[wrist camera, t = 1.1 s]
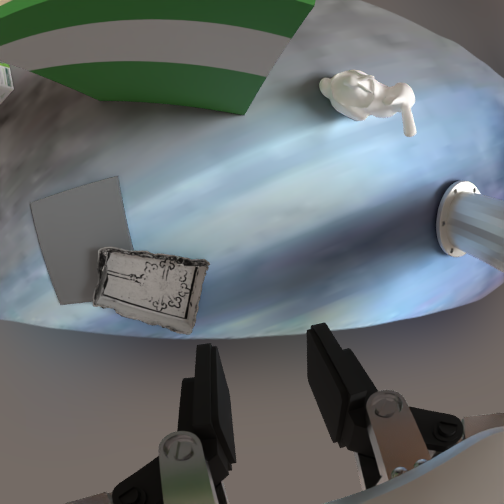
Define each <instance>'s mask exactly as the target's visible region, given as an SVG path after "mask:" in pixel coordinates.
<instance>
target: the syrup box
mask: <svg viewBox="0 0 504 504" xmlns="http://www.w3.org/2000/svg"><path fill="white" fill-rule="evenodd" d="M13 90H14V87H13V83H12V77H11V72H10V67H9V64H5V63H2V62H0V104H1V103H2V102H3V101H4V100H5V99H6V98H7V97H8V96H9V94H10V93H11V92H12V91H13Z"/></svg>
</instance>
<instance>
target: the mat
mask: <svg viewBox="0 0 504 504" xmlns="http://www.w3.org/2000/svg"><path fill="white" fill-rule="evenodd" d="M30 204H31V209H32V214H33V219H34V223H35V227H36V231H37V235H38V239H39V243H40V246H41V250H42V253H43V256H44V260H45V263H46V266H47V269H48V272H49V275H50V278H51V281H52V284H53V286H54V289H55V292H56V295H57V297H58V300H59V302H60V305H66V304H74V303H83V302H91V301H93V295H94V290H95V288H96V285H97V284H98V281H99V278H98V270H97V260H98V251H99V250H100V249H101V248H104V247H116V248H119V249H121V248H122V249H124V250H129V251H134V250H133V246H132V242H131V238H130V234H129V229H128V225H127V220H126V216H125V211H124V206H123V201H122V196H121V190H120V185H119V179H118V176H115V177H111V178H108V179H104V180H100V181H97V182H93V183H90V184H86V185H83V186H80V187H76V188H73V189H70V190H67V191H64V192H61V193H58V194H55V195H52V196H49V197H46V198H43V199H40V200H38V201H35V202H32V203H30Z"/></svg>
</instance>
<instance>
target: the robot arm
mask: <svg viewBox="0 0 504 504" xmlns="http://www.w3.org/2000/svg"><path fill="white" fill-rule="evenodd" d="M436 233H437V239H438V242H439V245H440V246H441V248H442V250H443V251H444V252H445V253H447V254H448V255H450V256H453V257H460V256H463V255H465V254H466V253H467V254H469V255H471V256H473V257H475V258H477V259H479V260H481V261H483V262H485V263H487V264H489V265H490V266H492V267H494V268H496V269H498V270H500V271H502V272H503V273H504V201H503V200H499V199H496V198H492V197H489V196H485V195H481V194H480V192H479V191H478V189H477V187H476V186H475V185H474V184H472V183H471V182H468V181H457V182H455V183H453V184H452V185H451V186H450V187H449V188H448V189H447V190H446V192H445V194H444V195H443V197H442V200H441V202H440V205H439V208H438V213H437V220H436ZM307 372H308V373H307V376H308V382H309V385H310V387H311V389H312V392H313V394H314V397H315V399H316V401H317V404H318V407H319V409H320V412H321V414H322V417H323V419H324V422H325V424H326V427H327V429H328V432H329V434H330V437H331V439H332V441H333V443H335V442H338V444H339V446H340V448H342V447H345V446H346V447H347V449H348V450H350V451H353V452H354V456H355V460H356V465H357V469H358V474H359V478H360V483H361V487H362V491H361V492H359V493H356V494H353V495H350V496H347V497H344V498H341V499H338V500H335V501H331V502H328V503H325V504H504V413H494V414H486V415H478V416H468V417H463V419H461V420H460V419H459V418H457V417H456V416H453V415H450V414H445V413H439V412H434V411H428V410H424V409H419V408H414V407H409V406H408V404H407V402H406V400H405V398H404V397H403V396H402V395H401V394H400V393H398V392H395V391H392V390H381V391H378V390H377V389H376V387H375V386H374V384H373V382H372V381H371V379H370V378H369V376H368V375H367V373H366V372H365V370H364V369H363V367H362V366H361V364H360V362H359V361H358V360H357V358H356V356H355V355H354V353H353V352H352V351H351V349H349V348H348V349H344V350H342V348H341V347H340V345H339V344H338V342H337V340H336V339H335V337H334V336H333V334H332V332H331V331H330V329H329V328H328V326H327V325H326V323H320V324H316V325H312V326H311V329H309V330H307ZM181 388H182V389H181V397H180V407H179V419H178V431H177V432H173V433H170V434H169V435H167V436H166V437H164V439H162V441H161V443H160V445H159V456H158V457H157V458H155V459H154V460H153V461H151V462H150V463H148V464H147V465H146V466H144V467H143V468H141V469H140V470H138V471H137V472H136V473H134V474H133V475H131V476H130V477H128V478H127V479H125V480H124V481H122V482H121V483H119V484H118V485H117V486H116V487H115V488H114V490H113V492H111V493H107V492H103V493H100V494H96V495H93V496H90V497H86V498H82V499H79V500H75V501H71V502H67V503H65V504H229V500H228V497H227V494H226V490H225V487H224V483H223V479H224V478H226V477H227V476H228V475H229V472H228V471H230V470H232V465H231V463H236V455H235V444H234V434H233V424H232V414H231V402H230V394H229V389H228V386H227V383H226V379H225V375H224V371H223V367H222V364H221V360H220V356H219V352H218V348H217V347H216V346H213V347H212V345H211V343H209V344H201V345H197V350H196V365H195V377H194V378H184V379H183V381H182V387H181Z"/></svg>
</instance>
